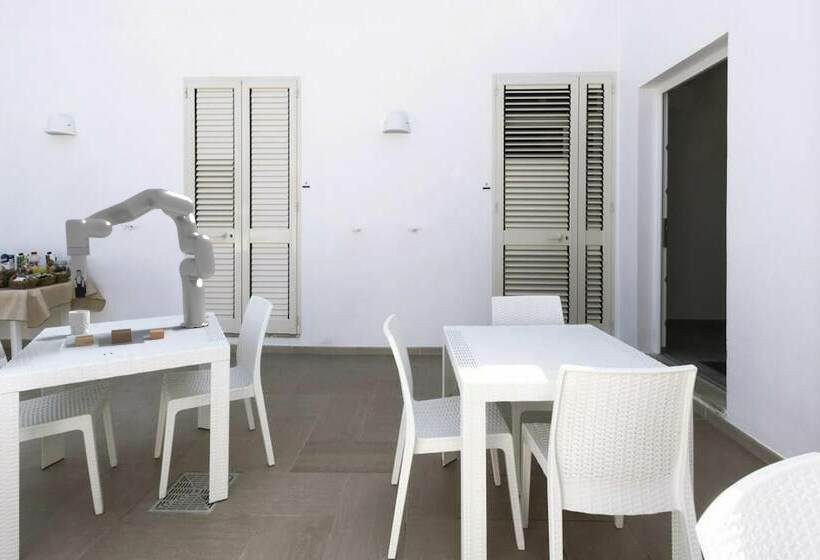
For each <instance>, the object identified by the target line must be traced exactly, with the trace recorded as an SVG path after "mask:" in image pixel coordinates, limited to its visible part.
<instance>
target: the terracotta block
mask: <svg viewBox="0 0 820 560" xmlns="http://www.w3.org/2000/svg"><path fill="white" fill-rule="evenodd" d="M149 338H150V340H158V339H159V340H160V339H162V340H163V339H165V332H164V329H163V328H161V329H151V330H149Z"/></svg>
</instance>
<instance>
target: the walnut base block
mask: <svg viewBox="0 0 820 560" xmlns="http://www.w3.org/2000/svg"><path fill="white" fill-rule="evenodd" d="M110 334H111V335H110V336H111V337H110V338H112V343H121V342H132V338H131V336H132V329H131V328H123V329H121V328H120V329H111V333H110Z"/></svg>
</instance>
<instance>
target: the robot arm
mask: <svg viewBox="0 0 820 560" xmlns="http://www.w3.org/2000/svg"><path fill="white" fill-rule="evenodd" d="M153 210H161V211H162V213H164V214H165V215H166V216H167V217H170V218H171V219H172V220H173V222H174V224H175V226H176V231H177V238H178V239H177V240H178V245H179V250H180V251H181V253H182V254H185V255H187V256H188V255H189V256H191V257H187V258H184V259H182V260H181V261H180V263H179V267H178V271H179V275H180V280H181V290H182V309H183V322H181V323H180V324H179V326H180V327H181V328H184V327H185V328H186V329H192V328H193V329H195V328H194V327H197V328H203V327H202V326H204V327H207V325H208V326H209V325H210V321H208V320H207V319H209V318H210V314H209V313H206V298H205V295H206V294H205V284H204V281H203V280H209V279H211V278H212V277H213V276H214V275H215V271H216V261H215V253H214V247H213V242H212V241H211V239H210V237H208V236H207V235H205V234H203V233H202V234H200V233H199V230H198V227H197V222H196V219H195V216H194V215H193V212H194V210H195V203H194V201H193V200H192V199H191V198H189V197H188V196H186V195H182V194H179V193H176V192H174V191H170V190H167V189H163V188H148V189H144V190H142V191H140V192H138V193H137V194H135V195H133V196H131V197H128V198H127V199H125V200H124V201H121V202H118V203H116V204H114V205H112V206H109V207H107V208H104V209H101V210H99V211H97V212H94V213H92V214H91V215H89V216H87V217H85V218H84V219H80V218H79V219H78V218H75V219H73V218H71V219H67V220H65V225H64V226H65V227H64V228H65V241H66V256H67V257H69V258H70V261H69V262H70V281H71V282H72V283H74V282H75V283H74V284H75V285H74V286H75V287H74V295H75V296H74V297H75V299H81V298H82V299H83V298H86V295H87V284H86V280H87V279H88V278H87V276H88V263H87V262H88V260H87V258H88V257H87V256H91V253H90V252H91V250H90V238H91V239H93V238H95V239H104V238H107V237H109V236H111V234H112V233H113V227H114V226H117V225H122V224H126V223H130V222H134V221H135V220H137V219H139V218H141V217H142V216H144V215H146V214H148V213H150V212H151V211H153ZM192 256H194V257H192ZM185 328H184V329H185Z"/></svg>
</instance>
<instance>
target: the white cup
mask: <svg viewBox="0 0 820 560" xmlns="http://www.w3.org/2000/svg"><path fill="white" fill-rule="evenodd" d="M90 312H91V311H90V310H89V309H77V310H71V311H68V321H69V327H70V333H71V334H70V335H71V336H72V335H73V336H85V335H90V331H91V330H90V328H91V313H90Z"/></svg>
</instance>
